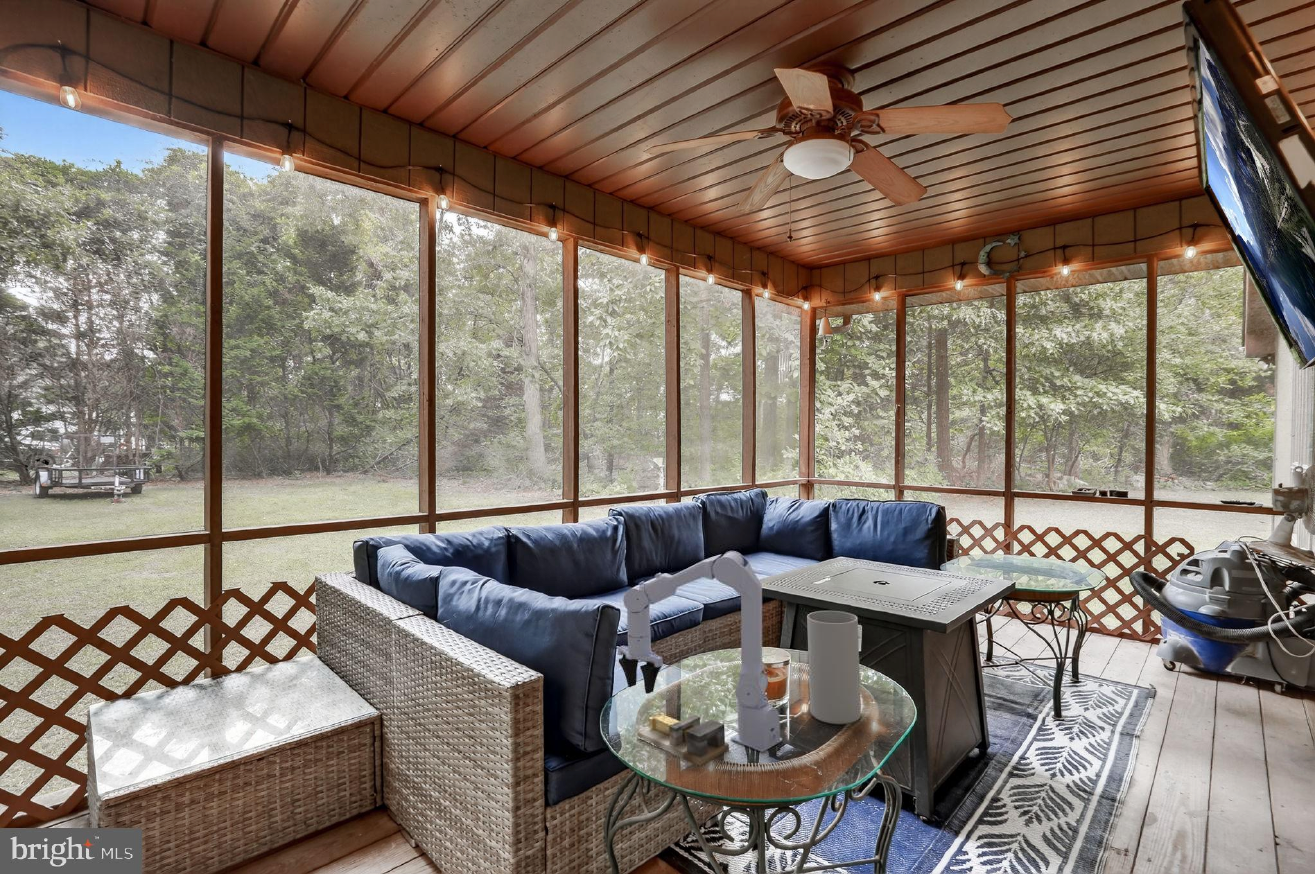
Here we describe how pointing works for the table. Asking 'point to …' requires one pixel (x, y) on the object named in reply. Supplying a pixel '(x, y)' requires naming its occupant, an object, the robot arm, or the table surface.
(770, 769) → the table surface
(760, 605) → the robot arm
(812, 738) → the table surface
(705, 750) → the latch board
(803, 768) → the table surface
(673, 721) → the yellow sliding bolt
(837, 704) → the cylinder vase
